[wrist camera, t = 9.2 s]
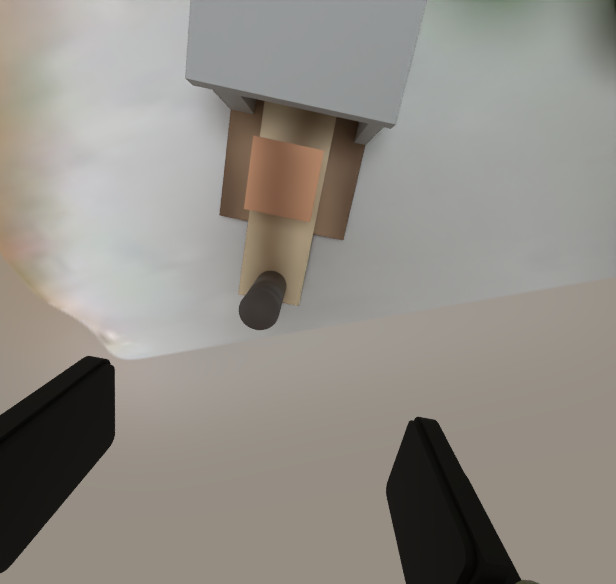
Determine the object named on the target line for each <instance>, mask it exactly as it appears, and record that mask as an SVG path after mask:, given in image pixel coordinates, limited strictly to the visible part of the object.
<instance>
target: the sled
mask: <svg viewBox="0 0 616 584" xmlns="http://www.w3.org/2000/svg"><path fill="white" fill-rule="evenodd" d="M335 122H336V116H331V115H327V114H322V113H317V112H313V111H308V110H304V109H299V108H295V107H290V106H286V105H281V104H276V103H272V102H267V101H265V102H264V109H263V117H262V124H261V131H260V137H258V136H254V135H253V143H252V150H251V158H250V166H249V173H248V181H247V189H246V196H245V204H244V209H247V210H250V212H249V220H248V227H247V234H246V242H245V249H244V256H243V264H242V271H241V278H240V286H239V293H238V294H239V295H244V296H245V297H244V298H243V299H242V301H241V303H240V305H239V315H240V318H241V320H242V321H243V322H244V324H245V325H247V326H248V327H250V328H252V329H255V330H264V329H268V328H270V327H271V326H273V325H274V324H275V322H276V321H277V319H278V316H279V312H280V309H281V305H282V303H286V304H292V305H297V306H299V302H300V297H301V292H302V287H303V282H304V277H305V272H306V267H307V262H308V257H309V252H310V247H311V242H312V237H313V232H314V227H315V222H316V217H317V212H318V207H319V202H320V197H321V192H322V187H323V182H324V177H325V172H326V167H327V162H328V157H329V152H330V147H331V142H332V137H333V132H334V127H335Z"/></svg>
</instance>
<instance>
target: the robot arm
mask: <svg viewBox="0 0 616 584" xmlns="http://www.w3.org/2000/svg"><path fill="white" fill-rule="evenodd" d="M114 436H115V369H114V366H112V365H110V361H109V360H107V359H103V358H97V357H92V356H86V357H84V358H83V359H81V360H80V361H78V362H77V363H75V364H74V365H73V366H71V367H70V368H68V369H67V370H65V371H64V372H62V373H61V374H59V375H58V376H57V377H55V378H54V379H52V380H51V381H49V382H48V383H46V384H45V385H44V386H42V387H41V388H39V389H38V390H36V391H35V392H33V393H32V394H30V395H29V396H28V397H26V398H25V399H23V400H22V401H20V402H19V403H17V404H16V405H14V406H13V407H12V408H10V409H9V410H7V411H6V412H4V413H3V414H1V415H0V573H2V572H4V571H5V570H7V569H8V568H9V567H10V565H12V563H13V562H14V561H15V560H16V559H17V558H18V556H19V555H20V554H21V553H22V552H23V550H24V549H25V548H26V547H27V545H28V544H29V543H30V542H31V541H32V540H33V538H34V537H35V536H36V535H37V534H38V532H39V531H40V530H41V529H42V527H43V526H44V525H45V524H46V523H47V522H48V520H49V519H50V518H51V517H52V516H53V514H54V513H55V512H56V511H57V510H58V508H59V507H60V506H61V505H62V504H63V502H64V501H65V500H66V499H67V498H68V496H69V495H70V494H71V493H72V492H73V490H74V489H75V488H76V487H77V486H78V484H79V483H80V482H81V481H82V480H83V478H84V477H85V476H86V475H87V473H88V472H89V471H90V470H91V469H92V468H93V466H94V465H95V464H96V463H97V462H98V460H99V459H100V458H101V457H102V456H103V454H104V453H105V452H106V451H107V449H108V448H109V447H110V446H111V444H112V442H113V440H114ZM386 495H387V500H388V505H389V510H390V514H391V518H392V523H393V527H394V532H395V536H396V541H397V545H398V550H399V554H400V559H401V564H402V568H403V573H404V577H405V581H406V584H539V583H536V582H534V581H530V580H521V578H520V577H519V575H518V573H517V571H516V569H515V567H514V565H513V563H512V561H511V559H510V558H509V556H508V554H507V552H506V550H505V548H504V546H503V544H502V542H501V540H500V538H499V536H498V535H497V533H496V531H495V529H494V527H493V525H492V523H491V521H490V519H489V517H488V515H487V514H486V512H485V510H484V508H483V506H482V504H481V502H480V500H479V498H478V497H477V494H476V493H475V491H474V489H473V487H472V485H471V483H470V481H469V479H468V478H467V476H466V475H465V473H464V472H463V470H462V468H461V466H460V464H459V462H458V460H457V458H456V457H455V455H454V452H453V451H452V448H451V447H450V445H449V443H448V441H447V439H446V437H445V435H444V433H443V431H442V429H441V427H440V425H439V424H438V422H437V421H436V420H433V419H428V418H422V417H416V418H415V420H414V421H412V420H411V421H409V423H408V426H407V428H406V431H405V434H404V437H403V440H402V442H401V445H400V448H399V451H398V454H397V456H396V459H395V462H394V465H393V468H392V471H391V474H390V476H389V479H388V482H387V487H386Z"/></svg>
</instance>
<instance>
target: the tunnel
mask: <svg viewBox="0 0 616 584" xmlns="http://www.w3.org/2000/svg"><path fill="white" fill-rule="evenodd" d="M426 2H427V0H190V15H189V30H188V45H187V60H186V75H185V78H186V79H187V80H188V81H189V82H190V83H191V84H192V85H194V86H199V87H203V88H208V89H212V90H213V91H214V92H215V93H216V94H217V95H218V96H219V97H220V98H221V99H222V101H223V102H224V103H225V104H226V105H227V106H228V107H229V108H230V109H231V110H236V111H240V112H245V113H250V114H254V110H255V102H256V99H258V100H263V101H267V102H272V103H276V104H281V105H286V106H290V107H295V108H299V109H304V110H308V111H313V112H317V113H322V114H327V115H331V116H336V117H340V118H345V119H349V120H354V121H359V123H358V128H357V132H356V137H355V141H354V143H358V144H363V145H366V144H367V143H368V142H369V141H370V140H371V139H372V138H373V137H374V136H375V135H376V134H377V133H378V132H379V131H380V130H381V129H382V128H383V127H386V128H390V129H391V128H392V127H393V126H394V125H395V124H396V121H397V117H398V113H399V109H400V105H401V101H402V97H403V93H404V89H405V85H406V81H407V77H408V73H409V69H410V65H411V62H412V58H413V54H414V50H415V46H416V42H417V38H418V34H419V30H420V26H421V22H422V18H423V14H424V10H425V6H426Z"/></svg>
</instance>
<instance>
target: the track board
mask: <svg viewBox="0 0 616 584" xmlns="http://www.w3.org/2000/svg"><path fill="white" fill-rule="evenodd" d="M264 102H265V101H263V100H258V99H256V102H255V110H254V114H250V113H245V112H240V111H236V110H231V113H230V123H229V132H228V141H227V150H226V160H225V169H224V178H223V187H222V197H221V206H220V215H221V216H226V217H231V218H236V219H241V220H246V221H248V220H249V212H250V210H247V209H244V204H245V196H246V189H247V181H248V173H249V166H250V158H251V150H252V143H253V135H254V136H258V137H260V131H261V124H262V117H263V109H264ZM358 123H359V121H354V120H349V119H345V118H340V117H336V122H335V127H334V132H333V137H332V142H331V147H330V152H329V157H328V162H327V167H326V172H325V177H324V182H323V187H322V192H321V197H320V202H319V207H318V212H317V217H316V222H315V227H314V232H313V234H315V235H320V236H325V237H330V238H335V239H340V240H343V239H344V235H345V231H346V226H347V222H348V218H349V213H350V209H351V205H352V200H353V196H354V192H355V187H356V183H357V179H358V174H359V170H360V166H361V161H362V157H363V153H364V148H365V145H363V144H358V143H354V141H355V137H356V132H357V128H358Z"/></svg>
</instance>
